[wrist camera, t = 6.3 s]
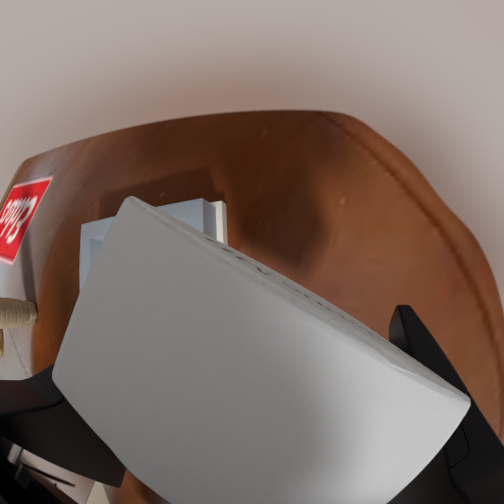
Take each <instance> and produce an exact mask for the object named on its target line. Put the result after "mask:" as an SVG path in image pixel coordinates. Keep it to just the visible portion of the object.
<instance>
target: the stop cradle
mask: <svg viewBox="0 0 504 504" xmlns="http://www.w3.org/2000/svg"><path fill="white" fill-rule="evenodd" d="M155 208H157V209H159V210H161V211H163V212H165V213H167V214H169V215H171V216H173V217H174V218H176V219H178V220H180V221H182V222H184V223H186V224H188V225H190V226H192V227H194V228H195V229H197V230H199V231H201V232H203V233H205V234H207V235H209V236H210V237H212V238H214V239H216V240H218V241H220V242H222V243H224V244H226V245H227V246H228V241H227V217H226V204H225V203H224V202H223V201H217V202H211V203H209V202H208V201H206V200H205V199H203V198H200V199H195V200H190V201H184V202H179V203H174V204H169V205H164V206H159V207H155ZM115 217H116V216H114V217H110V218H106V219H102V220H98V221H94V222H90V223H86V224H82V225H81V240H80V292H81V289H82V287H83V284H84V282H85V280H86V277H87V275H88V273H89V270H90V268H91V266H92V263H93V261H94V259H95V257H96V254H97V252H98V250H99V248H100V246H101V244H102V242H103V240H104V238H105V236H106V234H107V232H108V230H109V228H110V226H111V224H112V222H113V220H114V219H115Z"/></svg>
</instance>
